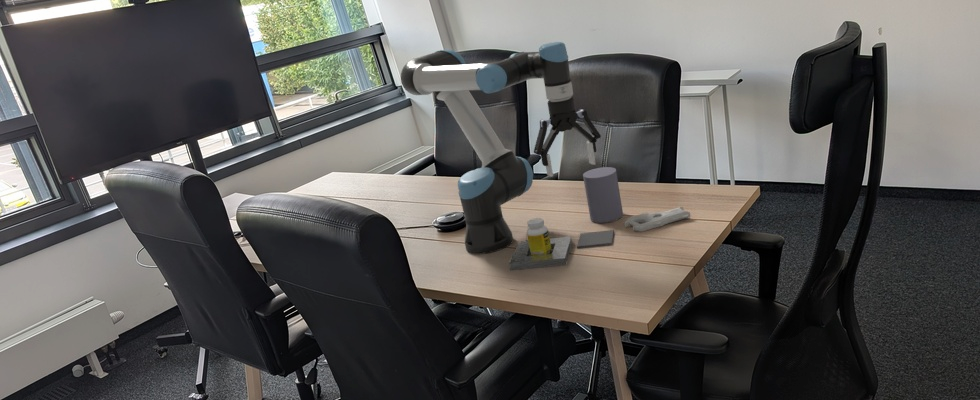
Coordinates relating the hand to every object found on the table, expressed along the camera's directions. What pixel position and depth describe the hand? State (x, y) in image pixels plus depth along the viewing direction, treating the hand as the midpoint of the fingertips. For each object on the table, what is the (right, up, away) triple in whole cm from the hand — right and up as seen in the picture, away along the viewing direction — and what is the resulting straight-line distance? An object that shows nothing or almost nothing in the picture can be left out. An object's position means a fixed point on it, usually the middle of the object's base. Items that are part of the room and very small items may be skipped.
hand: (571, 169), depth 217 cm
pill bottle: (-9, -25, -1) cm, 27 cm away
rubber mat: (+7, -21, +3) cm, 22 cm away
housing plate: (-9, -25, -1) cm, 26 cm away
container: (+13, -15, +19) cm, 27 cm away
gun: (+26, -16, +6) cm, 31 cm away
